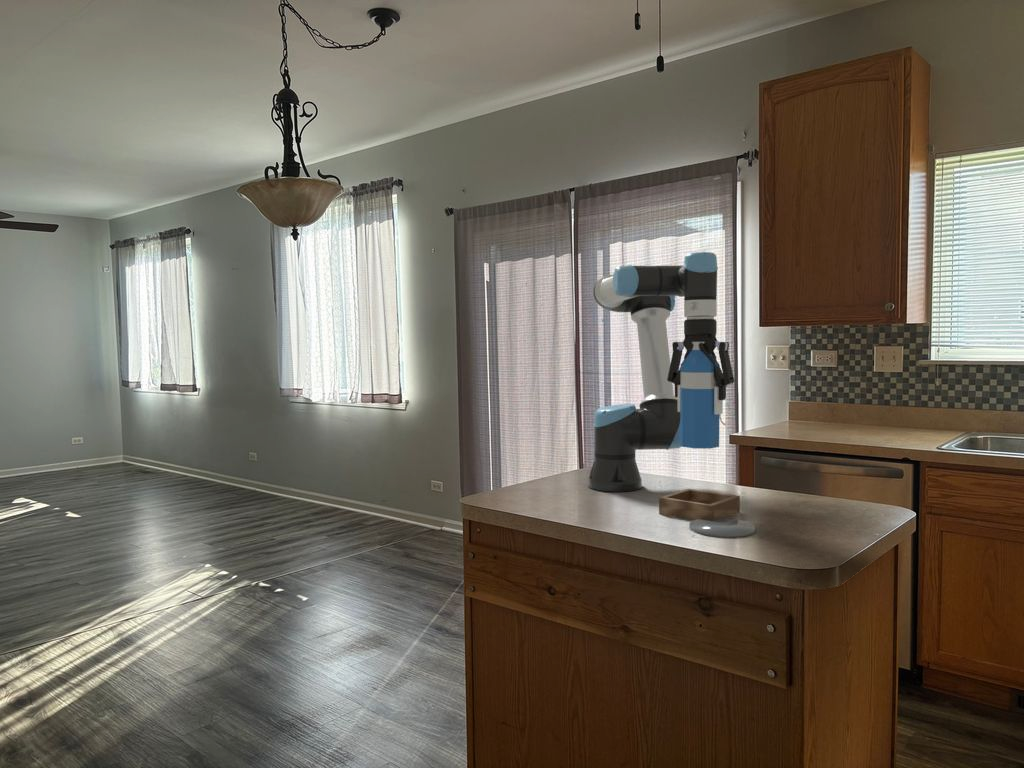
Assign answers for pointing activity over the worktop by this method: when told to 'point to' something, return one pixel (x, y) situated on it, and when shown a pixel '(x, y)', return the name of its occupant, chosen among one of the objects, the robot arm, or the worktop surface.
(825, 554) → the worktop surface
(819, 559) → the worktop surface
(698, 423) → the water bottle
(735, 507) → the square wooden frame
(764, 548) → the worktop surface
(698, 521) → the coaster
